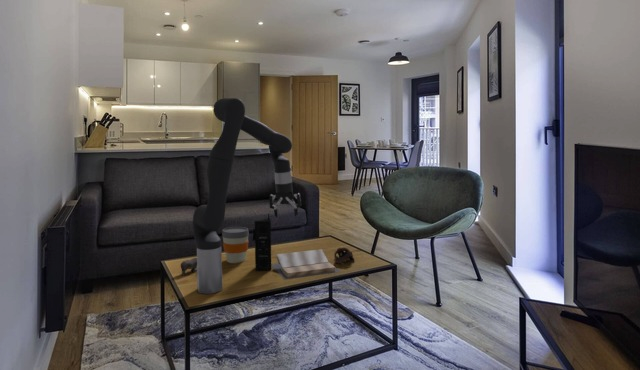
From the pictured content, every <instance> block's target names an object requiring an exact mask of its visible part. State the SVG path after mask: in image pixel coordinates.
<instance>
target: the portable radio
mask: <svg viewBox="0 0 640 370" xmlns="http://www.w3.org/2000/svg"><path fill="white" fill-rule="evenodd" d="M253 221H254V222H253V223H254V224H253V225H254V228H253V229H252V242H254V261H255V262H254V265H255V272H266V271H272V266H271V264H272V229H271V228H272V227H271V226H272V223H271V218H270V213H267V218H255V219H254V220H253Z"/></svg>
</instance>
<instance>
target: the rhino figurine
mask: <svg viewBox="0 0 640 370" xmlns="http://www.w3.org/2000/svg"><path fill="white" fill-rule="evenodd" d="M180 269H181V276H182V277H185V276H186V275H187V274H186V271H187V270H190V271H191V272H193V273H197V272H196V271H197V257H193V258H192V259H186V260H183V261H182V262H181V263H180Z"/></svg>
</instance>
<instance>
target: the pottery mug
mask: <svg viewBox="0 0 640 370" xmlns="http://www.w3.org/2000/svg"><path fill="white" fill-rule="evenodd" d="M353 254H354V253H353V252H352V251H351V250H350V249H348V248H347V247H337V249H336V250H335V251H334V253H333V255H334V260H333V261H334V264H339V263H340V264H342V263H344V262H347V261H352V262H355V257H354V255H353Z"/></svg>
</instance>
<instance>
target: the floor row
mask: <svg viewBox="0 0 640 370" xmlns="http://www.w3.org/2000/svg"><path fill="white" fill-rule="evenodd" d="M335 268H336V266H334V265H333V264H332V263H330V262H328V263H321V264H313V265H305V266H298V267H290V268H283V273H284V274H285V275H286V276H287V277H295V276H302V275H310V274H317V273H324V272H332V271H335Z"/></svg>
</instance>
